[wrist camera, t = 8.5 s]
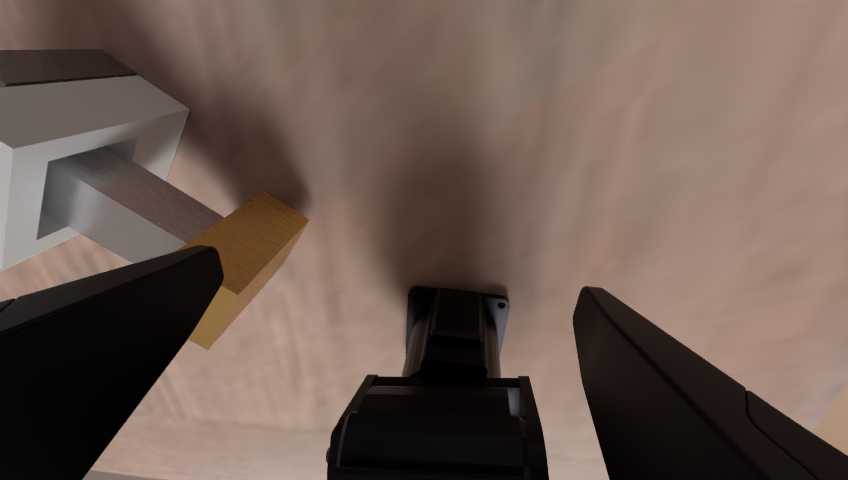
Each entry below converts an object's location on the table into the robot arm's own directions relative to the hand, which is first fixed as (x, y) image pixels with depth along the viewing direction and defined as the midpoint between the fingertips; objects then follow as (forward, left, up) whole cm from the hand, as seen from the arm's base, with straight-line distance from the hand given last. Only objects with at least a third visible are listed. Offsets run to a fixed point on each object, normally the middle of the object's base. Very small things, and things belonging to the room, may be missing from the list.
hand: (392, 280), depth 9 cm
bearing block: (-1, +17, -12) cm, 21 cm away
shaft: (-3, +13, -12) cm, 18 cm away
